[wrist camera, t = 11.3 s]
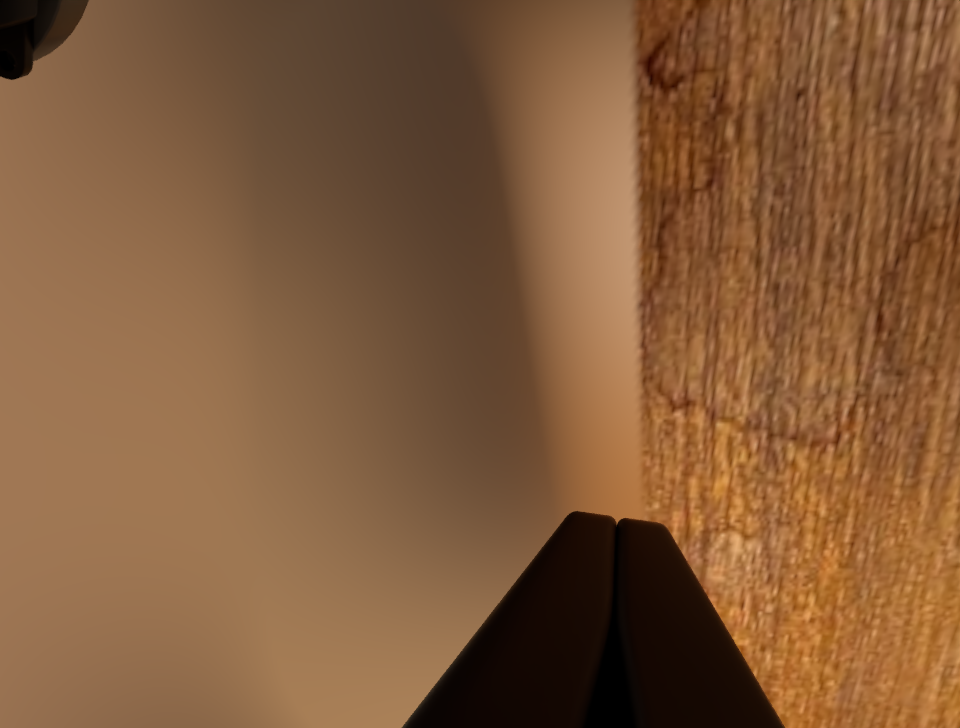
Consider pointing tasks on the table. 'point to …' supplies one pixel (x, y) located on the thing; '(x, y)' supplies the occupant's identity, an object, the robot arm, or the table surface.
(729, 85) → the table surface
